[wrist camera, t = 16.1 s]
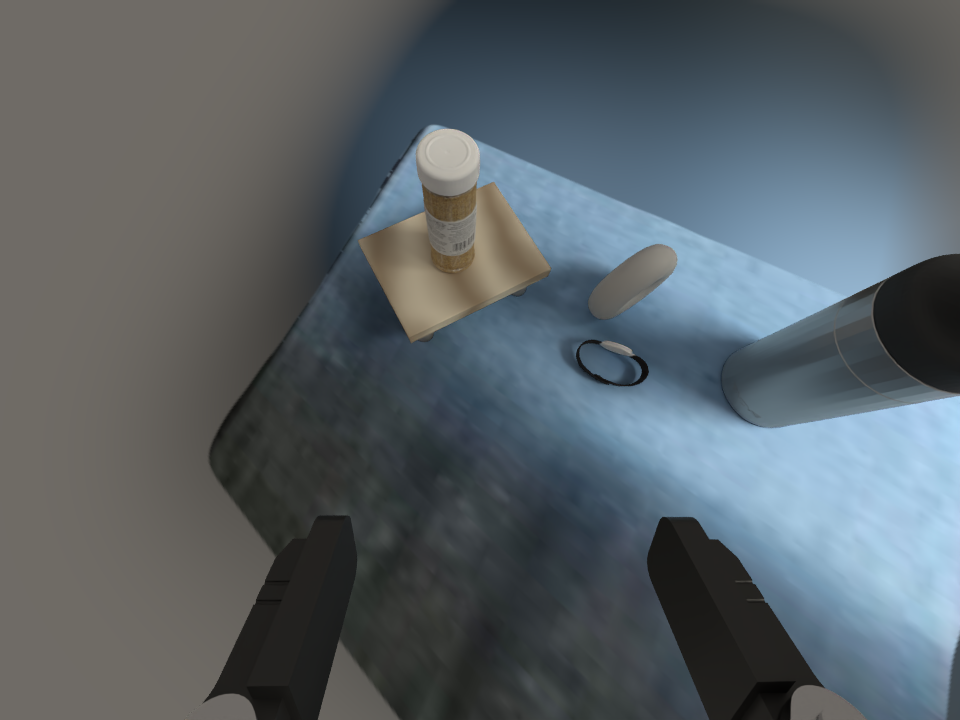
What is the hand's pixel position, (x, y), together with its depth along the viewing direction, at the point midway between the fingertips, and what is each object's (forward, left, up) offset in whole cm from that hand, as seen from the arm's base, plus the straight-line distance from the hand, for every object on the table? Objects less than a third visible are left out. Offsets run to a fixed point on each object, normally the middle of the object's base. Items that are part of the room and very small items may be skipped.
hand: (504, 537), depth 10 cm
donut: (-24, -11, -31) cm, 41 cm away
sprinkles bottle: (-9, -22, -25) cm, 34 cm away
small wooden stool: (-9, -22, -31) cm, 39 cm away
